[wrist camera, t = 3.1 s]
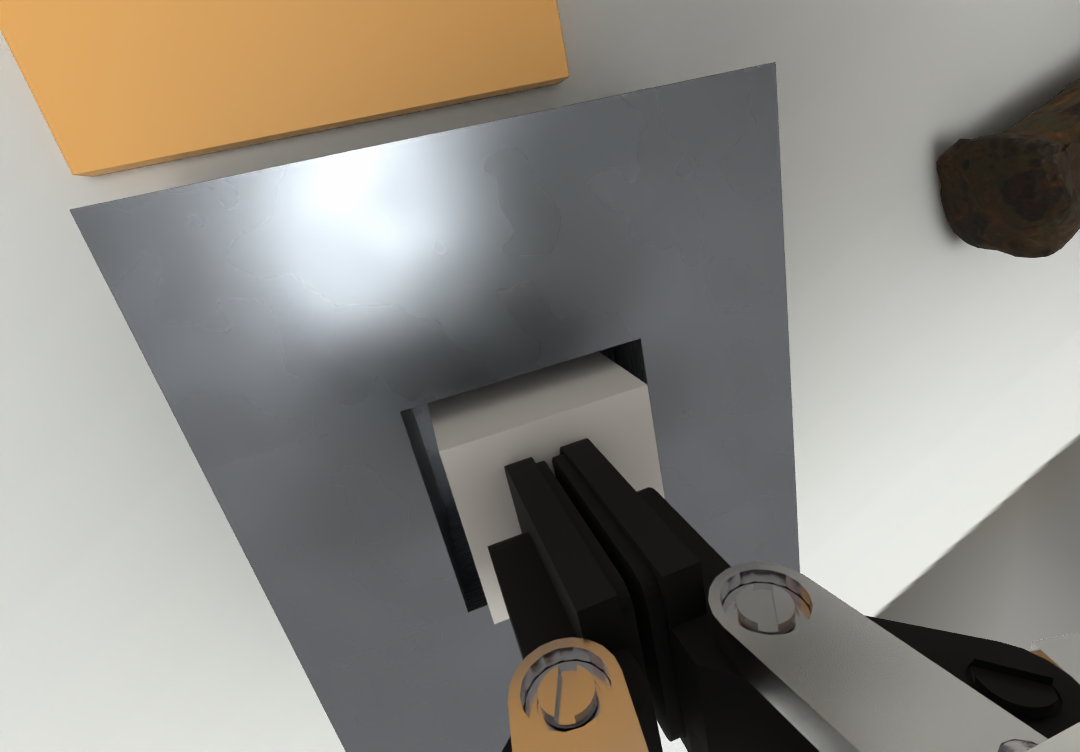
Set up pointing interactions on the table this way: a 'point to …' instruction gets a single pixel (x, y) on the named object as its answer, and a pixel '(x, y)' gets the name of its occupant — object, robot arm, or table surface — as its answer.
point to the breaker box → (462, 361)
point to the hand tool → (1018, 182)
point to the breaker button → (538, 442)
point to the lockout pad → (262, 67)
